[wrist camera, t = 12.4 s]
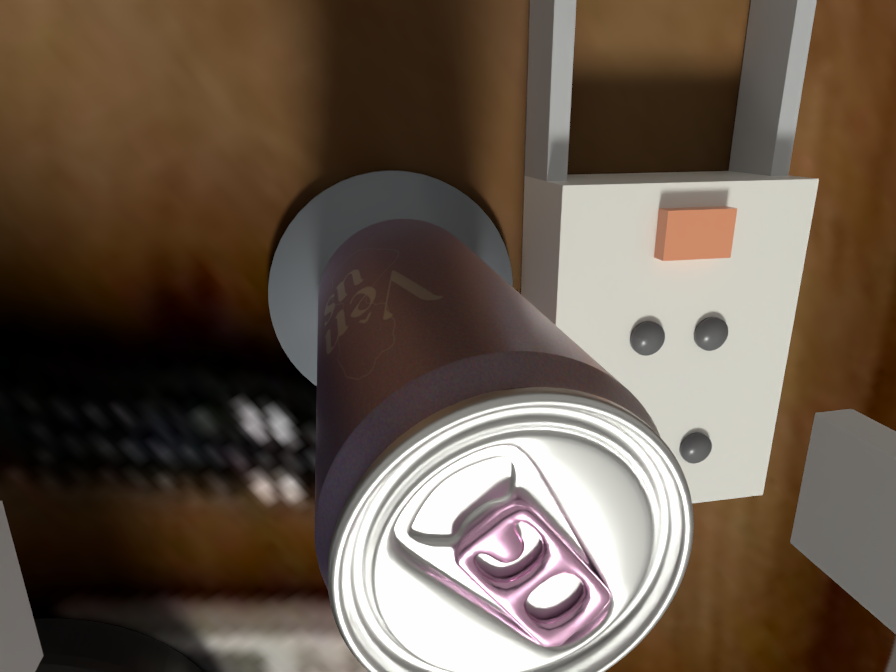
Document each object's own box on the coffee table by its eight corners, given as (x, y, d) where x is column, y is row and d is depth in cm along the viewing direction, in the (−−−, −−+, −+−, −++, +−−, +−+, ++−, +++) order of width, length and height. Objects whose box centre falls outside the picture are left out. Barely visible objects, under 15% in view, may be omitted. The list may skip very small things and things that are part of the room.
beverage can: (390, 401, 24) (483, 778, 11) (282, 289, 22) (218, 579, 8) (510, 304, 24) (769, 559, 10) (411, 180, 22) (571, 290, 8)
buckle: (688, 573, 31) (746, 645, 27) (511, 598, 29) (543, 679, 25) (779, -74, 22) (888, -121, 18) (532, -86, 21) (587, -142, 16)
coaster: (281, 411, 24) (280, 418, 24) (257, 172, 21) (255, 173, 21) (505, 393, 26) (509, 398, 25) (511, 167, 23) (516, 168, 22)
